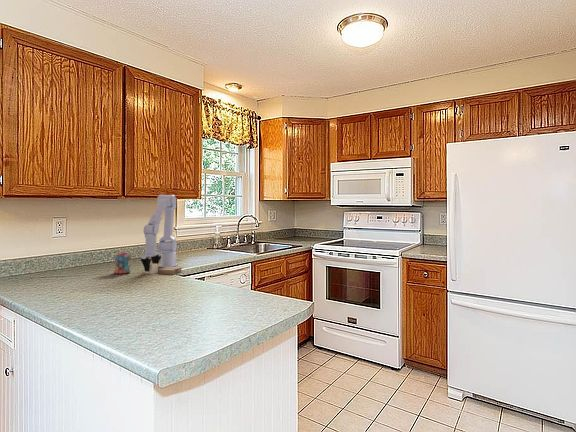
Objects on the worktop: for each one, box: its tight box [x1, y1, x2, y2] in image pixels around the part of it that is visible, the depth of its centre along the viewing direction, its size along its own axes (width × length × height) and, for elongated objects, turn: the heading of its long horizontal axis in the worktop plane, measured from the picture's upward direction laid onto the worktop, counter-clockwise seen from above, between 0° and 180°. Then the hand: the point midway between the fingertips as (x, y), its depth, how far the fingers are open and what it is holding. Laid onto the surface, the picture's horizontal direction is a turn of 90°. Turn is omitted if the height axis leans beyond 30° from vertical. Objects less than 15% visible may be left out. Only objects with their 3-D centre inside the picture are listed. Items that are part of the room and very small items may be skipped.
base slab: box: [157, 266, 182, 276], centre depth 205 cm, size 9×9×2 cm
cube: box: [143, 262, 159, 275], centre depth 204 cm, size 5×5×5 cm
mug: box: [112, 252, 137, 275], centre depth 202 cm, size 12×9×11 cm
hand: (151, 270), depth 204 cm, fingers open, 7 cm apart
